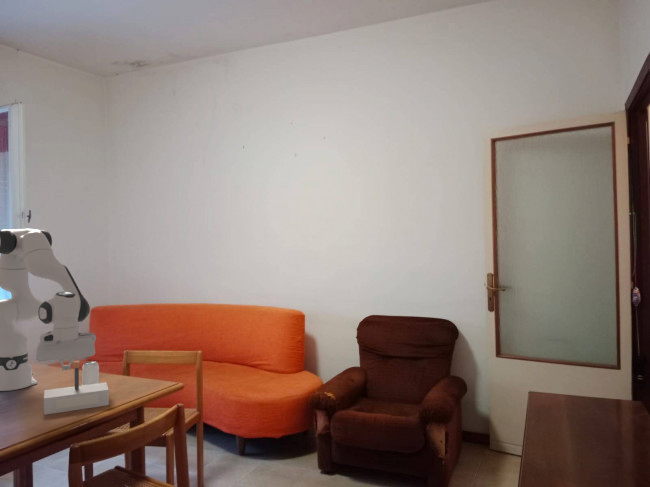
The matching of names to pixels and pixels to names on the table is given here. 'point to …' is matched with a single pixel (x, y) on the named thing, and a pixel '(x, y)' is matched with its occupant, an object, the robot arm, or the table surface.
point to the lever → (76, 374)
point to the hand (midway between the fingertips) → (66, 370)
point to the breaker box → (75, 398)
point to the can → (90, 373)
